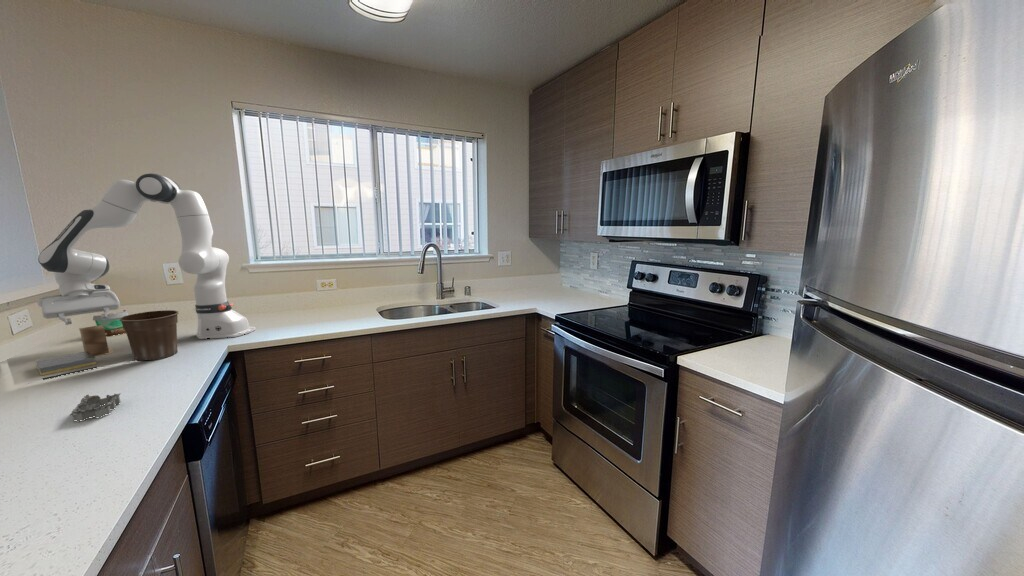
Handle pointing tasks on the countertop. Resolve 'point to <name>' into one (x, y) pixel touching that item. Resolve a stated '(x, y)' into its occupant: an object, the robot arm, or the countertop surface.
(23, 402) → the countertop surface
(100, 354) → the pallet
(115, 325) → the food container
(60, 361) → the dock
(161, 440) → the countertop surface
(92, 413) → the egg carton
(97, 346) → the crate
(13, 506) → the countertop surface
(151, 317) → the plant pot
